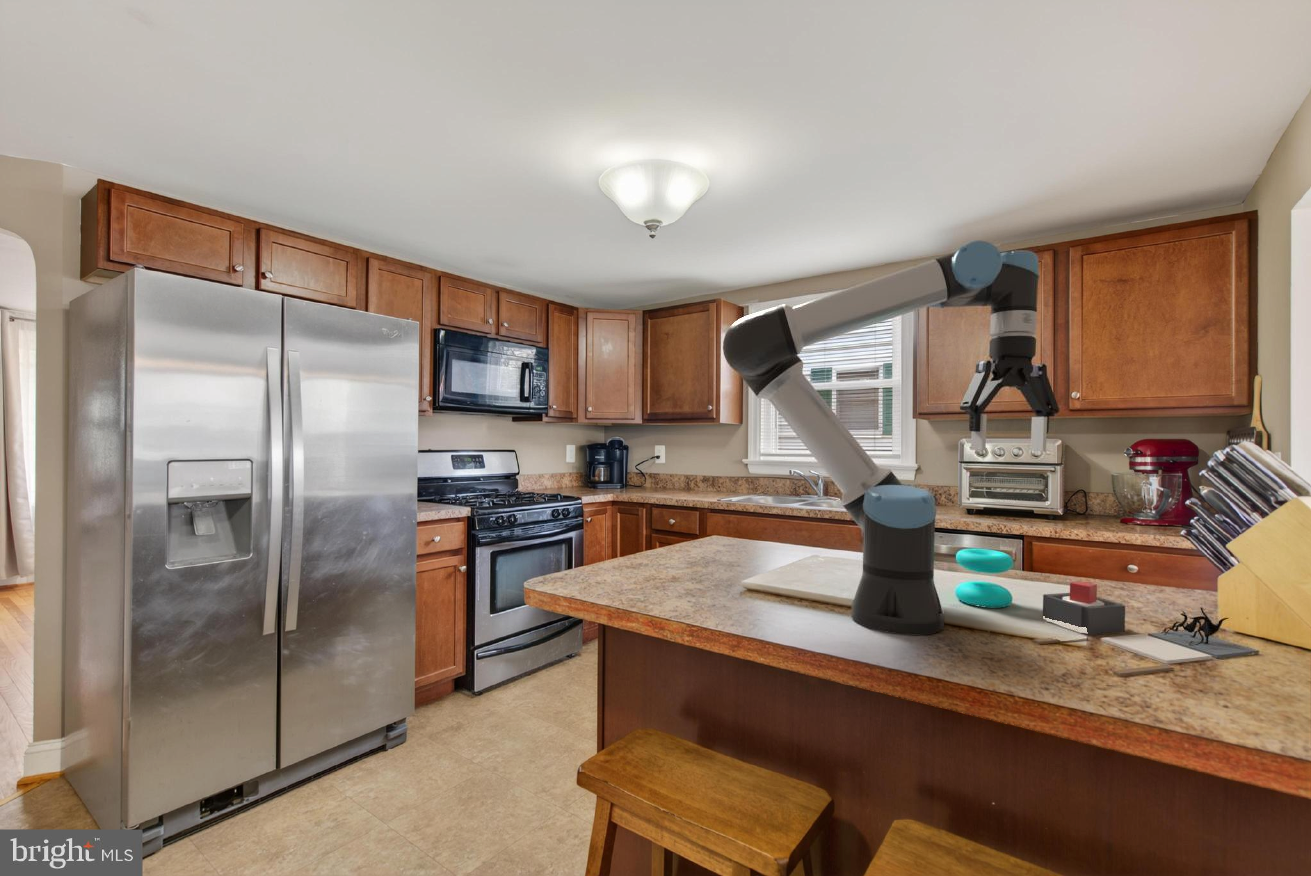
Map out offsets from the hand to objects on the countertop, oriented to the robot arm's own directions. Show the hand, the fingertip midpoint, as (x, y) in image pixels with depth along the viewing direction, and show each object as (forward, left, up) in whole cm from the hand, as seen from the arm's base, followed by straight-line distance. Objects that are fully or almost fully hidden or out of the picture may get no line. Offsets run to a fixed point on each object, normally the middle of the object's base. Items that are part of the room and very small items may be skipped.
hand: (1008, 450), depth 115 cm
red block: (+7, -10, -29) cm, 31 cm away
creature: (+16, -21, -30) cm, 40 cm away
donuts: (+1, +6, -30) cm, 31 cm away
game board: (+6, -17, -30) cm, 35 cm away
